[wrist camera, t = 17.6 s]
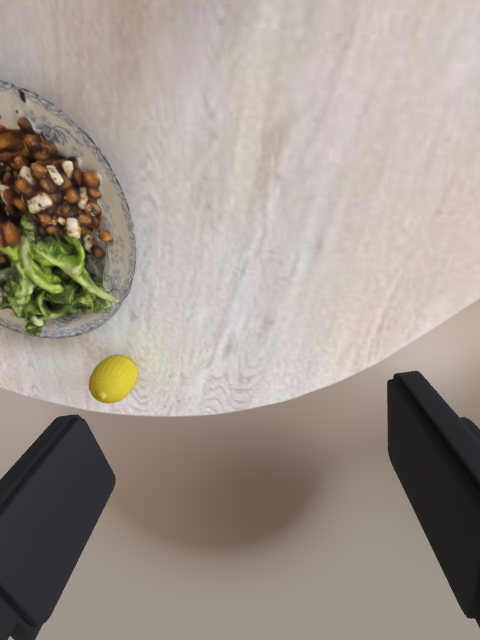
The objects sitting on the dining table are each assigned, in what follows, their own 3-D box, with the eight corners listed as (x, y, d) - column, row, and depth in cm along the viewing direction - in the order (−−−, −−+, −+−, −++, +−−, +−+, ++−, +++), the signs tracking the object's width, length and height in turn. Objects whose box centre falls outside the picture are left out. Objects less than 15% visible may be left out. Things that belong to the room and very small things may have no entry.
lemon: (146, 379, 43) (123, 418, 36) (110, 375, 44) (79, 412, 36) (145, 347, 41) (121, 381, 34) (107, 342, 41) (74, 375, 34)
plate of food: (121, 357, 42) (100, 383, 37) (-76, 292, 40) (-130, 308, 34) (168, 146, 31) (147, 136, 25) (-104, 38, 29) (-192, 1, 23)
